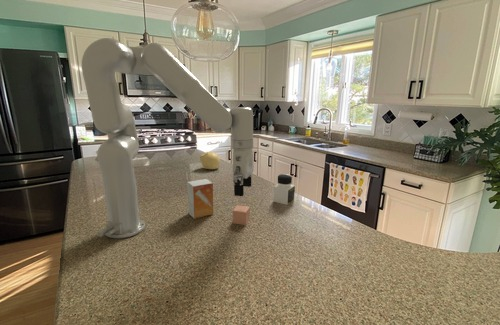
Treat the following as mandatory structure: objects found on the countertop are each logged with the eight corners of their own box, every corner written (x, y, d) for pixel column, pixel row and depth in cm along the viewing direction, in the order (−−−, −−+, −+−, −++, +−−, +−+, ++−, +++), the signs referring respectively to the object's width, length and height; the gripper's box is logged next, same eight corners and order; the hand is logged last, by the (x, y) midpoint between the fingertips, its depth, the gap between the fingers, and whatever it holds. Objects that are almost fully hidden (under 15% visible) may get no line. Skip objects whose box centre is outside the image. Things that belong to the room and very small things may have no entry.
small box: (194, 219, 97) (192, 186, 94) (188, 213, 102) (186, 181, 99) (213, 214, 101) (213, 182, 98) (207, 208, 107) (206, 178, 103)
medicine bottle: (287, 205, 111) (289, 178, 108) (272, 201, 114) (273, 175, 112) (294, 200, 117) (295, 174, 114) (279, 196, 120) (281, 171, 117)
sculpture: (212, 165, 174) (211, 149, 171) (223, 168, 166) (223, 152, 163) (197, 168, 166) (197, 151, 163) (209, 172, 158) (208, 154, 155)
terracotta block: (245, 225, 93) (246, 212, 92) (232, 223, 95) (232, 210, 94) (249, 219, 98) (249, 206, 97) (237, 217, 99) (237, 205, 98)
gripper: (245, 149, 80) (246, 201, 85) (259, 140, 96) (259, 184, 101) (222, 148, 82) (224, 198, 87) (239, 139, 98) (240, 182, 103)
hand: (243, 190), depth 94 cm, fingers open, 9 cm apart
